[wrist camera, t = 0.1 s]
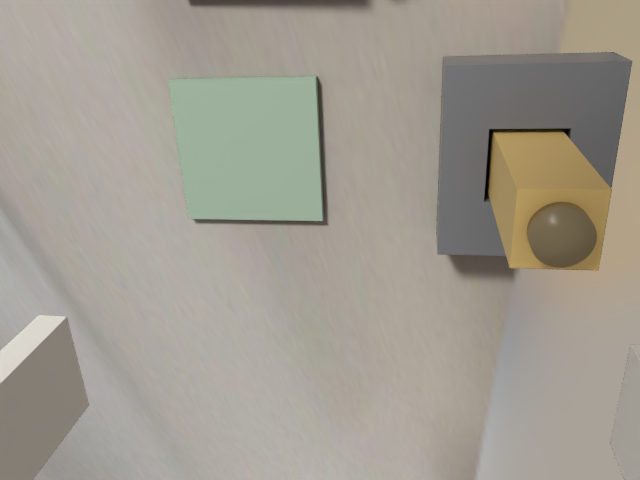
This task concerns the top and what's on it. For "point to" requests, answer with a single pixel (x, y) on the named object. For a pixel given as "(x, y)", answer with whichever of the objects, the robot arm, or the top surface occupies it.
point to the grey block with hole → (518, 127)
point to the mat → (249, 147)
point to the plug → (546, 200)
